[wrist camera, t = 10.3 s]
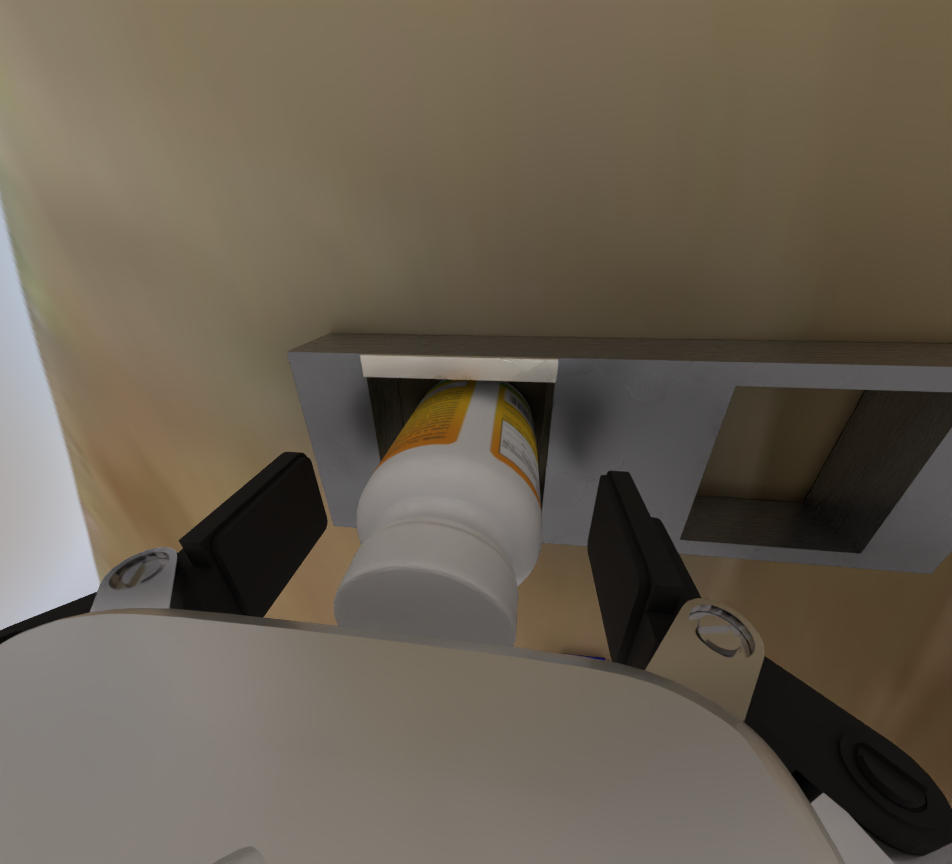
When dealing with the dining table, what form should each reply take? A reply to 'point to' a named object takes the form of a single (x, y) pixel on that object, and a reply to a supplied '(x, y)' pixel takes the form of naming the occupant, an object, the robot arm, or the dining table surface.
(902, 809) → the robot arm
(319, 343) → the metal bottle holder tray
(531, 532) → the supplement bottle
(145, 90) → the dining table surface
